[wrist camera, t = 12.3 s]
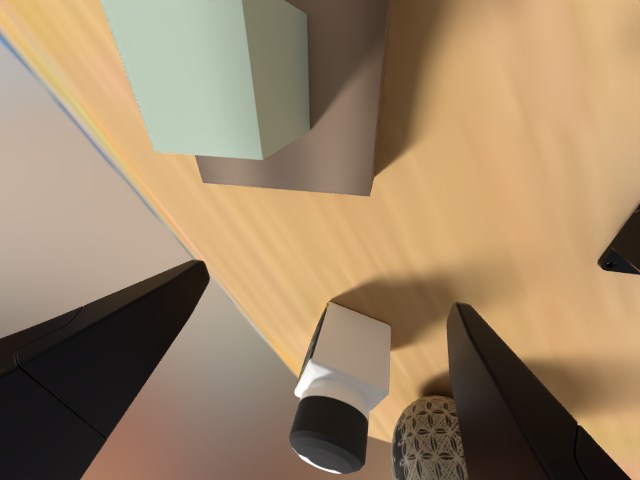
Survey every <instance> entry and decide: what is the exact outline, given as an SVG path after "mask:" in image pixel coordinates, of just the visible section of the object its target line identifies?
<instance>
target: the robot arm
mask: <svg viewBox="0 0 640 480" xmlns="http://www.w3.org/2000/svg"><path fill="white" fill-rule="evenodd" d="M609 262H611V263H609ZM597 263H598V265H599V266H600V267H601V268H602V269H603V270H606V271H613V272H622V273H630V274H638V275H640V205H639V206H638V208H637V209H636V210H635V212H634V213H633V214H632V216H631V217H630V218H629V220H628V221H627V222H626V224H625V225H624V226H623V228H622V229H621V230H620V232H619V233H618V234H617V236H616V237H615V239H614V240H613V241H612V243H611V244H610V245H609V247H608V248H607V249H606V251H605V252H604V253H603V255H602V256H601V257H600V259H599V260H598V262H597ZM608 263H609V264H608ZM209 281H210V276H209V273H208V270H207V267H206V264H205V263H204V262H203V261H201V260H190V261H188V262H186V263H183V264H181V265H179V266H176V267H174V268H172V269H169V270H167V271H165V272H162V273H160V274H157V275H155V276H153V277H150V278H148V279H146V280H144V281H141V282H138V283H136V284H134V285H131V286H129V287H127V288H124V289H122V290H120V291H118V292H115V293H112V294H110V295H108V296H105V297H103V298H101V299H99V300H96V301H94V302H91V303H89V304H87V305H85V306H84V307H83V306H82V307H79V308H77V309H75V310H72V311H70V312H67V313H65V314H63V315H60V316H58V317H55V318H53V319H50V320H48V321H45V322H43V323H40V324H38V325H35V326H32V327H30V328H27V329H25V330H22V331H19V332H17V333H14V334H11V335H9V336H6V337H3V338H1V339H0V480H80V479H81V478H82V476H83V475H84V473H85V472H86V470H87V469H88V467H89V466H90V464H91V463H92V461H93V460H94V458H95V457H96V455H97V454H98V453H99V451H100V450H101V448H102V446H103V445H104V443H105V442H106V441H107V438H108V437H109V436H110V434H111V433H112V431H113V430H114V428H115V427H116V426H117V424H118V423H119V421H120V420H121V418H122V416H123V415H124V414H125V412H126V411H127V409H128V408H129V406H130V405H131V403H132V402H133V400H134V399H135V397H136V396H137V394H138V393H139V392H140V390H141V389H142V387H143V386H144V384H145V383H146V381H147V380H148V378H149V377H150V375H151V374H152V372H153V371H154V369H155V368H156V366H157V365H158V364H159V362H160V361H161V359H162V358H163V356H164V355H165V353H166V352H167V350H168V349H169V347H170V346H171V344H172V343H173V341H174V340H175V338H176V337H177V335H178V334H179V333H180V331H181V330H182V328H183V326H184V325H185V323H186V322H187V321H188V319H189V317H190V316H191V314H192V313H193V311H194V309H195V307H196V305H197V303H198V302H199V300H200V298H201V296H202V294H203V292H204V290H205V289H206V287H207V285H208V283H209ZM447 342H448V358H449V373H450V380H451V386H452V391H453V397H454V402H455V408H456V413H457V419H458V424H459V430H460V436H461V441H462V447H463V452H464V458H465V463H466V469H467V474H468V480H631V479H630V478H629V477H628V476H627V474H626V473H625V472H624V471H623V470H622V469H621V468H620V467H619V466H618V465H617V464H616V463H615V462H614V461H613V460H612V459H611V458H610V456H609V455H608V454H607V453H606V452H605V451H604V450H603V449H602V448H601V447H600V446H599V445H598V444H597V443H596V442H595V440H594V439H593V438H592V437H591V436H590V435H589V434H588V433H587V432H586V431H585V430H584V428H583V427H582V426H580V425H577V424H578V423H577V421H576V420H575V419H574V418H573V417H572V415H571V414H570V413H569V412H568V411H567V410H566V409H565V408H564V407H563V406H562V405H561V403H560V402H559V401H558V400H557V399H556V398H555V397H554V396H553V395H552V394H551V393H550V391H549V390H548V389H547V388H546V387H545V386H544V385H543V384H542V383H541V382H540V380H539V379H538V378H537V377H536V376H535V375H534V374H533V373H532V372H531V371H530V370H529V368H528V367H527V366H526V365H525V364H524V363H523V362H522V361H521V360H520V359H519V358H518V356H517V355H516V354H515V353H514V352H513V351H512V350H511V349H510V348H509V347H508V346H507V344H506V343H505V342H504V341H503V340H502V339H501V338H500V337H499V336H498V335H497V333H496V332H495V331H494V330H493V329H492V328H491V327H490V326H489V325H488V324H487V323H486V321H485V320H484V319H483V318H482V317H481V316H480V315H479V314H478V313H477V312H476V311H475V309H474V308H473V307H472V306H471V305H469V304H466V303H460V302H455V303H454V304H453V306H452V309H451V311H450V314H449V316H448V319H447Z"/></svg>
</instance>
